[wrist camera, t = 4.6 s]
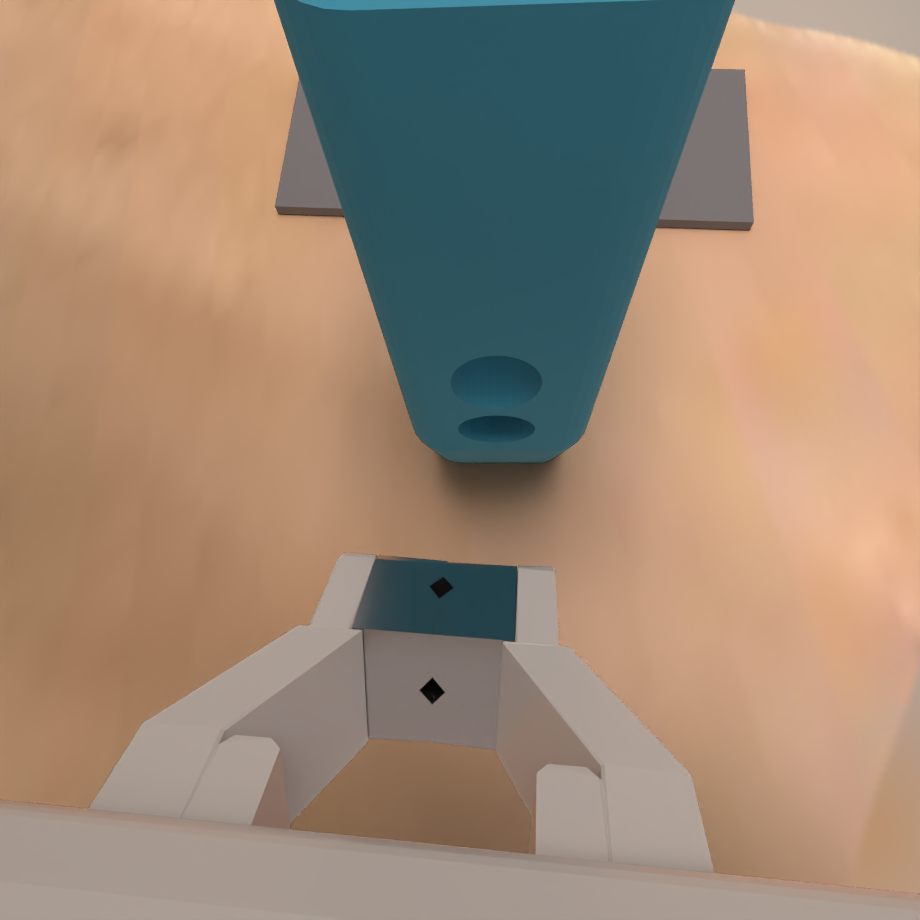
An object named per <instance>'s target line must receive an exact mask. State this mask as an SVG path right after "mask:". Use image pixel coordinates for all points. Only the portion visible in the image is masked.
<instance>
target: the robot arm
mask: <svg viewBox="0 0 920 920" xmlns="http://www.w3.org/2000/svg"><path fill="white" fill-rule="evenodd" d="M368 738H372V739H388V740H403V741H419V742H433V743H442V744H450V745H458V746H467V747H475V748H483V749H492V750H496V754H497V756H498V758H499V760H500V762H501V763H502V765H503V767H504V769H505V771H506V772H507V774H508V776H509V778H510V780H511V781H512V783H513V785H514V787H515V789H516V790H517V792H518V794H519V796H520V798H521V799H522V801H523V803H524V805H525V807H526V808H527V810H528V812H529V814H530V816H531V817H532V820H531V829H530V838H529V847H528V853H519V852H509V851H499V850H490V849H480V848H470V847H460V846H450V845H441V844H431V843H421V842H411V841H401V840H392V839H382V838H372V837H362V836H352V835H342V834H333V833H323V832H313V831H303V830H293V829H291V826H290V824H291V823H292V822H293V821H294V820H295V819H296V818H297V817H298V815H299V814H300V813H301V812H302V811H303V810H304V809H305V808H306V807H307V806H308V805H309V804H310V803H311V802H312V801H313V800H314V799H315V798H316V797H317V795H318V794H319V793H320V792H321V791H322V790H323V789H324V788H325V787H326V786H327V785H328V784H329V783H330V782H331V781H332V780H333V779H334V778H335V776H336V775H337V774H338V773H339V772H340V771H341V770H342V769H343V768H344V767H345V766H346V765H347V764H348V763H349V762H350V761H351V760H352V759H353V757H354V756H355V755H356V754H357V753H358V752H359V751H360V750H361V749H362V748H363V747H364V746H365V745H366V744H367V743H368ZM0 920H920V894H919V893H909V892H898V891H889V890H880V889H870V888H859V887H850V886H840V885H830V884H820V883H810V882H800V881H791V880H781V879H771V878H761V877H751V876H741V875H731V874H722V873H714V869H713V865H712V860H711V856H710V852H709V848H708V843H707V839H706V835H705V831H704V827H703V822H702V818H701V814H700V810H699V806H698V801H697V797H696V793H695V789H694V784H693V780H692V776H691V774H690V773H689V772H688V771H687V770H686V769H685V768H684V767H683V766H682V765H681V763H680V762H679V761H678V760H677V759H676V758H675V757H674V756H673V755H672V754H671V753H670V752H669V751H668V750H667V749H666V748H665V747H664V745H663V744H662V743H661V742H660V741H659V740H658V739H657V738H656V737H655V736H654V735H653V734H652V733H651V732H650V731H649V730H648V729H647V727H646V726H645V725H644V724H643V723H642V722H641V721H640V720H639V719H638V718H637V717H636V716H635V715H634V714H633V713H632V712H631V711H630V709H629V708H628V707H627V706H626V705H625V704H624V703H623V702H622V701H621V700H620V699H619V698H618V697H617V696H616V695H615V694H614V693H613V691H612V690H611V689H610V688H609V687H608V686H607V685H606V684H605V683H604V682H603V681H602V680H601V679H600V678H599V677H598V676H597V675H596V673H595V672H594V671H593V670H592V669H591V668H590V667H589V666H588V665H587V664H586V663H585V662H584V661H583V660H582V659H581V658H580V657H579V655H578V654H577V653H576V652H575V651H574V650H573V649H572V648H571V647H565V646H560V644H559V625H558V606H557V587H556V571H555V569H554V568H553V567H542V566H518V569H517V566H503V565H486V564H470V563H453V562H448V561H439V560H428V559H417V558H407V557H396V556H385V555H379V556H377V555H374V554H360V553H347V552H344V553H343V554H341V555H340V556H339V557H338V559H337V561H336V563H335V566H334V568H333V570H332V573H331V575H330V577H329V580H328V582H327V584H326V587H325V589H324V591H323V593H322V596H321V598H320V600H319V603H318V605H317V607H316V610H315V612H314V614H313V617H312V619H311V621H310V623H309V626H305V625H297V626H296V627H294V628H293V629H291V630H289V631H288V632H286V633H285V634H283V635H282V636H280V637H278V638H277V639H275V640H274V641H272V642H270V643H269V644H267V645H266V646H264V647H262V648H261V649H259V650H258V651H256V652H255V653H253V654H251V655H250V656H248V657H247V658H245V659H243V660H242V661H240V662H239V663H237V664H236V665H234V666H232V667H231V668H229V669H228V670H226V671H224V672H223V673H221V674H220V675H218V676H216V677H215V678H213V679H212V680H210V681H209V682H207V683H205V684H204V685H202V686H201V687H199V688H197V689H196V690H194V691H193V692H191V693H189V694H188V695H186V696H185V697H183V698H182V699H180V700H178V701H177V702H175V703H174V704H172V705H170V706H169V707H167V708H166V709H164V710H162V711H161V712H159V713H158V714H156V715H155V716H153V717H151V718H150V719H148V720H147V721H145V722H143V724H142V725H141V727H140V728H139V730H138V731H137V733H136V735H135V736H134V738H133V739H132V741H131V742H130V744H129V746H128V747H127V749H126V750H125V752H124V753H123V755H122V757H121V758H120V760H119V761H118V763H117V764H116V766H115V768H114V769H113V771H112V772H111V774H110V775H109V777H108V779H107V780H106V782H105V783H104V785H103V786H102V788H101V790H100V791H99V793H98V794H97V796H96V797H95V799H94V801H93V802H92V804H91V805H90V807H89V808H78V807H68V806H58V805H49V804H39V803H29V802H19V801H9V800H0Z"/></svg>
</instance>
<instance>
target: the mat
mask: <svg viewBox="0 0 920 920" xmlns="http://www.w3.org/2000/svg"><path fill="white" fill-rule="evenodd" d="M275 207H276V210H277V212H278V214H298V215H327V216H344V213H343V210H342V207H341V204H340V201H339V198H338V195H337V192H336V189H335V186H334V183H333V180H332V177H331V174H330V170H329V167H328V164H327V161H326V158H325V155H324V152H323V149H322V146H321V143H320V140H319V137H318V134H317V131H316V128H315V124H314V121H313V118H312V115H311V112H310V109H309V106H308V103H307V100H306V97H305V94H304V91H303V88H302V85H301V82H300V78H299V82H298V88H297V93H296V98H295V104H294V109H293V114H292V119H291V125H290V130H289V135H288V140H287V146H286V151H285V156H284V161H283V167H282V172H281V177H280V182H279V188H278V193H277V198H276V204H275ZM753 223H754V220H753V203H752V186H751V169H750V152H749V135H748V118H747V101H746V84H745V70H735V69H711V71H710V74H709V76H708V79H707V82H706V85H705V88H704V91H703V94H702V97H701V99H700V102H699V105H698V108H697V111H696V114H695V117H694V120H693V122H692V125H691V128H690V131H689V134H688V137H687V140H686V142H685V145H684V148H683V151H682V154H681V157H680V160H679V163H678V165H677V168H676V171H675V174H674V177H673V180H672V183H671V186H670V188H669V191H668V194H667V197H666V200H665V203H664V206H663V209H662V211H661V214H660V217H659V220H658V223H657V226H656V227H674V228H703V229H732V230H750V228H751V226H752V225H753Z"/></svg>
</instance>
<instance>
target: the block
mask: <svg viewBox="0 0 920 920" xmlns="http://www.w3.org/2000/svg"><path fill="white" fill-rule="evenodd" d="M274 2H275V5H276V8H277V11H278V14H279V17H280V20H281V23H282V26H283V29H284V32H285V35H286V39H287V42H288V45H289V48H290V51H291V54H292V57H293V60H294V63H295V66H296V69H297V72H298V75H299V78H300V82H301V85H302V88H303V91H304V94H305V97H306V100H307V103H308V106H309V109H310V112H311V115H312V118H313V121H314V124H315V128H316V131H317V134H318V137H319V140H320V143H321V146H322V149H323V152H324V155H325V158H326V161H327V164H328V167H329V170H330V174H331V177H332V180H333V183H334V186H335V189H336V192H337V195H338V198H339V201H340V204H341V207H342V210H343V213H344V217H345V220H346V223H347V226H348V229H349V232H350V235H351V238H352V241H353V244H354V247H355V250H356V253H357V256H358V259H359V263H360V266H361V269H362V272H363V275H364V278H365V281H366V284H367V287H368V290H369V293H370V296H371V299H372V302H373V305H374V309H375V312H376V315H377V318H378V321H379V324H380V327H381V330H382V333H383V336H384V339H385V342H386V345H387V348H388V352H389V355H390V358H391V361H392V364H393V367H394V370H395V373H396V376H397V379H398V382H399V385H400V388H401V391H402V394H403V398H404V401H405V404H406V407H407V410H408V413H409V416H410V419H411V422H412V425H413V428H414V430H415V433H416V435H417V436H418V437H419V439H420V440H421V441H422V442H423V443H424V444H426V445H427V446H428V447H430V448H431V449H432V450H434V451H435V452H437V453H438V454H440V455H441V456H442V457H444V458H445V459H447V460H449V461H452V462H458V463H540V462H546V461H549V460H551V459H553V458H554V457H556V456H557V455H559V454H560V453H562V452H564V451H565V450H567V449H568V448H570V447H571V446H572V445H574V444H575V443H576V442H578V441H579V439H580V438H581V437H582V435H583V434H584V432H585V429H586V427H587V424H588V421H589V418H590V415H591V413H592V410H593V407H594V404H595V401H596V398H597V395H598V392H599V390H600V387H601V384H602V381H603V378H604V375H605V372H606V369H607V367H608V364H609V361H610V358H611V355H612V352H613V349H614V346H615V344H616V341H617V338H618V335H619V332H620V329H621V326H622V324H623V321H624V318H625V315H626V312H627V309H628V306H629V303H630V301H631V298H632V295H633V292H634V289H635V286H636V283H637V280H638V278H639V275H640V272H641V269H642V266H643V263H644V260H645V257H646V255H647V252H648V249H649V246H650V243H651V240H652V237H653V234H654V232H655V229H656V226H657V223H658V220H659V217H660V214H661V211H662V209H663V206H664V203H665V200H666V197H667V194H668V191H669V188H670V186H671V183H672V180H673V177H674V174H675V171H676V168H677V165H678V163H679V160H680V157H681V154H682V151H683V148H684V145H685V142H686V140H687V137H688V134H689V131H690V128H691V125H692V122H693V120H694V117H695V114H696V111H697V108H698V105H699V102H700V99H701V97H702V94H703V91H704V88H705V85H706V82H707V79H708V76H709V74H710V71H711V68H712V65H713V62H714V59H715V56H716V53H717V51H718V48H719V45H720V42H721V39H722V36H723V33H724V30H725V28H726V25H727V22H728V19H729V16H730V13H731V10H732V7H733V5H734V2H735V0H274Z"/></svg>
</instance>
